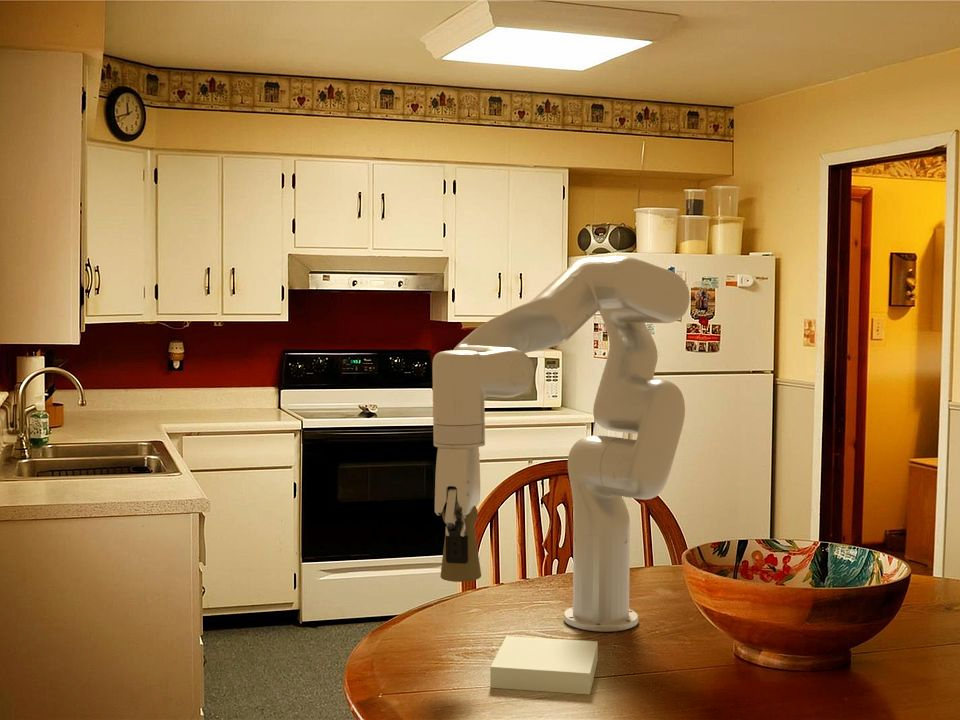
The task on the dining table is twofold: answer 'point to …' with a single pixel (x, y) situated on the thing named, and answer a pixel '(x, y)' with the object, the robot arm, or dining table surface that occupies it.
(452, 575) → the cork
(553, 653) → the cream block
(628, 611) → the robot arm
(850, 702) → the dining table surface
